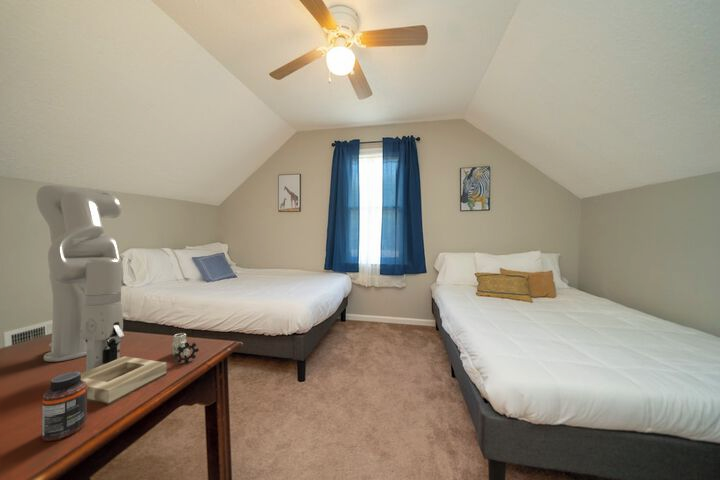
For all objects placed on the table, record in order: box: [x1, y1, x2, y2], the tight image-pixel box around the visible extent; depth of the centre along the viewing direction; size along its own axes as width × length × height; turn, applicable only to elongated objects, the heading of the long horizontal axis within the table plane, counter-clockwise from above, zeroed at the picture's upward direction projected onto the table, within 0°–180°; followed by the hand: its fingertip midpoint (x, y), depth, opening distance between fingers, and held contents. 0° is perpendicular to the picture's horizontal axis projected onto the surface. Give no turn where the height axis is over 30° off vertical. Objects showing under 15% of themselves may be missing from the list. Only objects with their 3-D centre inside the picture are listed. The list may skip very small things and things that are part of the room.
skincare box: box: [85, 335, 121, 372], centre depth 73 cm, size 6×4×12 cm
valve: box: [171, 332, 200, 364], centre depth 83 cm, size 7×7×12 cm
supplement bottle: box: [40, 371, 88, 442], centre depth 50 cm, size 6×6×11 cm
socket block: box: [80, 356, 168, 406], centre depth 67 cm, size 16×14×4 cm
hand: (102, 360), depth 73 cm, fingers closed on skincare box, 4 cm apart
